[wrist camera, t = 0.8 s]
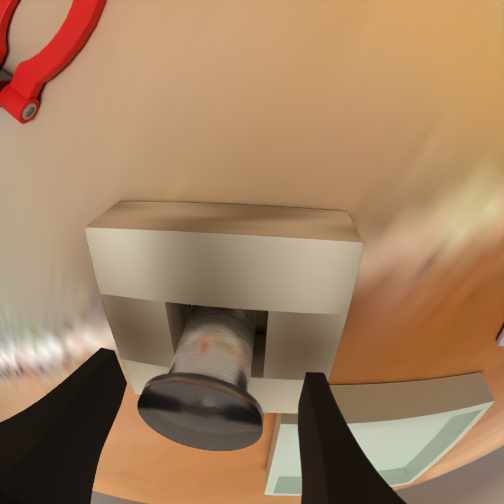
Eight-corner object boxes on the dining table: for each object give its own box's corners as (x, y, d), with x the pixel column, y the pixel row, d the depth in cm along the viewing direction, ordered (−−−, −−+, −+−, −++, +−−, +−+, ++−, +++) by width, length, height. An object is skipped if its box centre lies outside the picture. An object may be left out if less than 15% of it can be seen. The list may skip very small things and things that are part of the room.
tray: (481, 371, 17) (495, 400, 14) (406, 461, 24) (411, 483, 21) (281, 383, 18) (280, 423, 15) (266, 469, 25) (264, 494, 22)
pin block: (346, 211, 12) (364, 242, 10) (313, 373, 17) (316, 413, 14) (119, 201, 13) (84, 227, 10) (150, 357, 17) (134, 393, 15)
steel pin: (273, 267, 14) (266, 397, 8) (268, 335, 16) (259, 455, 10) (182, 261, 14) (122, 376, 8) (190, 328, 16) (152, 439, 10)
